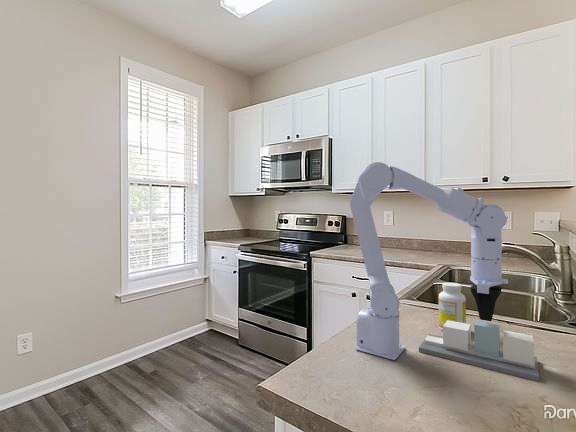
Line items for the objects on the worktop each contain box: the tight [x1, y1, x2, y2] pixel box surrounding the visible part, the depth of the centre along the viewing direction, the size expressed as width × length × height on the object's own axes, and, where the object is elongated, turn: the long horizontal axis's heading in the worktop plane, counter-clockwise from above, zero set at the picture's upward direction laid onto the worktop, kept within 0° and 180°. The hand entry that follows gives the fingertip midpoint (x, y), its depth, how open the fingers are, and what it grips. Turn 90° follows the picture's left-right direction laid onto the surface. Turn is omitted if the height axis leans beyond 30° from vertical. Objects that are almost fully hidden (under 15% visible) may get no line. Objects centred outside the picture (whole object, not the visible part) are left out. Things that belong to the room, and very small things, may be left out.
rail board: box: [418, 320, 540, 383], centre depth 70 cm, size 22×10×6 cm, turn 53°
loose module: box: [473, 319, 501, 357], centre depth 69 cm, size 4×4×6 cm
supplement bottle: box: [438, 282, 467, 332], centre depth 86 cm, size 7×7×13 cm
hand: (486, 319), depth 69 cm, fingers closed
